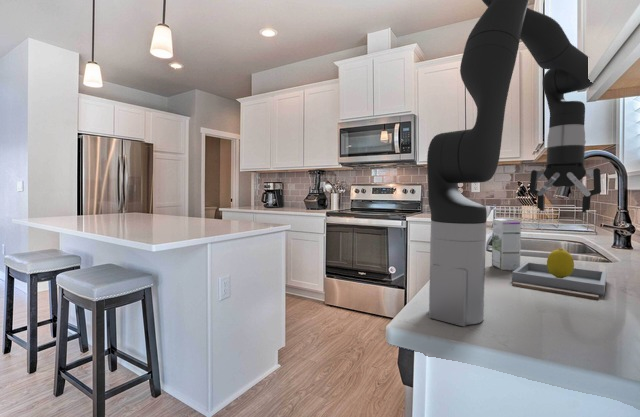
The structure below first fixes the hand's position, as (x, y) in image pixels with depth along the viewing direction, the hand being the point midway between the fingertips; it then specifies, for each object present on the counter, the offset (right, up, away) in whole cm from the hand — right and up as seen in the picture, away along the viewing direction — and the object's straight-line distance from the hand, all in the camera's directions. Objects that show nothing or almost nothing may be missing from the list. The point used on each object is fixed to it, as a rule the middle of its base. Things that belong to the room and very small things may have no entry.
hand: (562, 211), depth 84 cm
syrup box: (-5, -17, +16) cm, 24 cm away
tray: (0, -18, +1) cm, 18 cm away
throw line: (-7, -18, -7) cm, 21 cm away
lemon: (0, -17, +1) cm, 17 cm away
